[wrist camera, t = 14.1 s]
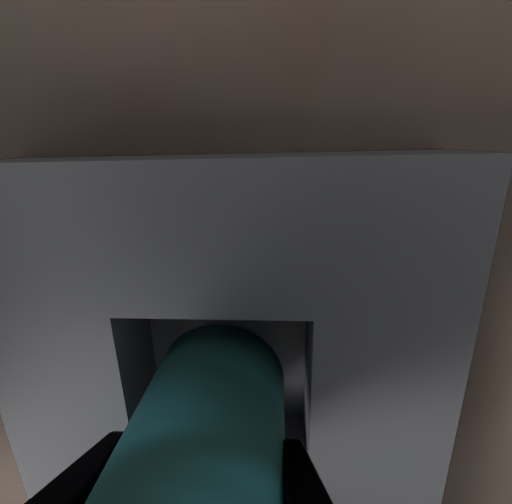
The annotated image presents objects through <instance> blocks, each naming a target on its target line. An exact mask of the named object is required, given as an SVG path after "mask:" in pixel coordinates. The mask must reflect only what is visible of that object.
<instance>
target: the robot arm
mask: <svg viewBox="0 0 512 504" xmlns="http://www.w3.org/2000/svg"><path fill="white" fill-rule="evenodd" d="M123 432H124V431H112V432H110V433H108V434H107V435H106V436H105V437H103V438H102V439H101V440H100V441H99V442H97V443H96V444H95V445H94V446H93V447H91V448H90V449H89V450H88V451H87V452H85V453H84V454H83V455H82V456H81V457H79V458H78V459H77V460H76V461H75V462H73V463H72V464H71V465H70V466H69V467H67V468H66V469H65V470H64V471H63V472H61V473H60V474H59V475H58V476H57V477H55V478H54V479H53V480H52V481H51V482H49V483H48V484H47V485H46V486H45V487H43V488H42V489H41V490H40V491H39V492H37V493H36V494H35V495H34V496H33V497H31V498H30V499H29V500H28V501H27V502H25V503H24V504H85V502H86V500H87V498H88V496H89V495H90V493H91V491H92V489H93V487H94V485H95V484H96V482H97V480H98V478H99V476H100V474H101V472H102V471H103V469H104V467H105V465H106V463H107V461H108V460H109V458H110V456H111V454H112V452H113V450H114V449H115V447H116V445H117V443H118V441H119V439H120V437H121V436H122V434H123ZM284 486H285V504H333V502H332V500H331V498H330V496H329V494H328V492H327V490H326V488H325V486H324V484H323V482H322V480H321V478H320V476H319V474H318V472H317V470H316V468H315V466H314V464H313V462H312V460H311V458H310V456H309V454H308V452H307V450H306V448H305V446H304V445H303V443H302V441H301V440H300V439H298V438H286V439H285V440H284Z"/></svg>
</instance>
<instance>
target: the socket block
mask: <svg viewBox="0 0 512 504" xmlns="http://www.w3.org/2000/svg"><path fill="white" fill-rule="evenodd" d="M511 173H512V153H509V152H487V151H466V150H445V149H434V150H386V151H337V152H288V153H239V154H191V155H142V156H93V157H45V158H14V159H0V416H1V419H2V422H3V425H4V428H5V431H6V434H7V437H8V440H9V443H10V446H11V449H12V452H13V455H14V458H15V461H16V464H17V467H18V470H19V474H20V477H21V480H22V483H23V486H24V489H25V492H26V495H27V498H28V500H29V499H30V498H31V497H33V496H34V495H35V494H36V493H37V492H39V491H40V490H41V489H42V488H43V487H45V486H46V485H47V484H48V483H49V482H51V481H52V480H53V479H54V478H55V477H57V476H58V475H59V474H60V473H61V472H63V471H64V470H65V469H66V468H67V467H69V466H70V465H71V464H72V463H73V462H75V461H76V460H77V459H78V458H79V457H81V456H82V455H83V454H84V453H85V452H87V451H88V450H89V449H90V448H91V447H93V446H94V445H95V444H96V443H97V442H99V441H100V440H101V439H102V438H103V437H105V436H106V435H107V434H108V433H110V432H112V431H124V430H125V428H126V426H127V425H128V423H129V421H130V419H131V417H132V415H133V413H134V412H135V410H136V408H137V406H138V404H139V402H140V401H141V399H142V397H143V395H144V393H145V391H146V389H147V388H148V386H149V384H150V382H151V380H152V378H153V377H154V375H155V373H156V371H157V369H158V367H159V365H160V364H161V362H162V360H163V358H164V356H165V354H166V353H167V351H168V349H169V348H170V346H171V345H172V344H173V342H174V341H175V340H176V339H177V338H179V337H180V336H181V335H182V334H184V333H186V332H187V331H189V330H192V329H194V328H197V327H200V326H204V325H210V324H225V325H232V326H237V327H240V328H243V329H245V330H248V331H250V332H252V333H254V334H255V335H257V336H259V337H260V338H261V339H263V340H264V341H265V342H266V343H267V344H268V345H269V346H270V347H271V348H272V349H273V351H274V352H275V353H276V355H277V357H278V358H279V360H280V363H281V365H282V369H283V374H284V417H285V439H286V438H298V439H300V440H301V441H302V443H303V445H304V446H305V448H306V450H307V452H308V454H309V456H310V458H311V460H312V462H313V464H314V466H315V468H316V470H317V472H318V474H319V476H320V478H321V480H322V482H323V484H324V486H325V488H326V490H327V492H328V494H329V496H330V498H331V500H332V502H333V504H441V502H442V498H443V493H444V488H445V484H446V479H447V474H448V469H449V465H450V460H451V455H452V451H453V446H454V441H455V436H456V432H457V427H458V422H459V418H460V413H461V408H462V403H463V399H464V394H465V389H466V385H467V380H468V375H469V371H470V366H471V361H472V356H473V352H474V347H475V342H476V338H477V333H478V328H479V323H480V319H481V314H482V309H483V305H484V300H485V295H486V290H487V286H488V281H489V276H490V272H491V267H492V262H493V257H494V253H495V248H496V243H497V239H498V234H499V229H500V225H501V220H502V215H503V210H504V206H505V201H506V196H507V192H508V187H509V182H510V177H511Z"/></svg>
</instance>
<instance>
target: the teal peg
mask: <svg viewBox="0 0 512 504" xmlns="http://www.w3.org/2000/svg"><path fill="white" fill-rule="evenodd" d="M284 440H285V417H284V374H283V369H282V365H281V363H280V360H279V358H278V357H277V355H276V353H275V352H274V351H273V349H272V348H271V347H270V346H269V345H268V344H267V343H266V342H265V341H264V340H263V339H261V338H260V337H259V336H257V335H255V334H254V333H252V332H250V331H248V330H245V329H243V328H240V327H237V326H232V325H225V324H210V325H204V326H200V327H197V328H194V329H192V330H189V331H187V332H186V333H184V334H182V335H181V336H180V337H179V338H177V339H176V340H175V341H174V342H173V344H172V345H171V346H170V348H169V349H168V351H167V353H166V354H165V356H164V358H163V360H162V362H161V364H160V365H159V367H158V369H157V371H156V373H155V375H154V377H153V378H152V380H151V382H150V384H149V386H148V388H147V389H146V391H145V393H144V395H143V397H142V399H141V401H140V402H139V404H138V406H137V408H136V410H135V412H134V413H133V415H132V417H131V419H130V421H129V423H128V425H127V426H126V428H125V430H124V432H123V434H122V436H121V437H120V439H119V441H118V443H117V445H116V447H115V449H114V450H113V452H112V454H111V456H110V458H109V460H108V461H107V463H106V465H105V467H104V469H103V471H102V472H101V474H100V476H99V478H98V480H97V482H96V484H95V485H94V487H93V489H92V491H91V493H90V495H89V496H88V498H87V500H86V502H85V504H285V486H284Z"/></svg>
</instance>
